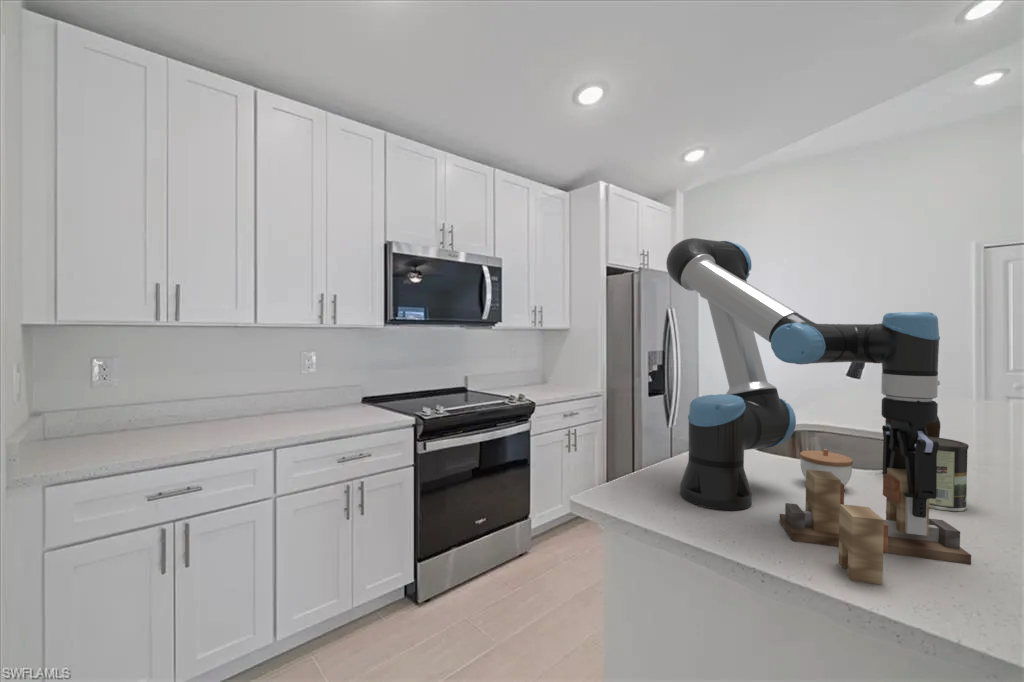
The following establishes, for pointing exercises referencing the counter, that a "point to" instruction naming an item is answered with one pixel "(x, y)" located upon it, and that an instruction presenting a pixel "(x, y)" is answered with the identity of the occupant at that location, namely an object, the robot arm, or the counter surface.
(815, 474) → the block
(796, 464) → the counter surface
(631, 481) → the counter surface
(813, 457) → the lidded jar
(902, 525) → the right finger
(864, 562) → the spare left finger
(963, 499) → the coffee can
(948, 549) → the rail board
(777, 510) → the counter surface
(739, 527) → the counter surface
